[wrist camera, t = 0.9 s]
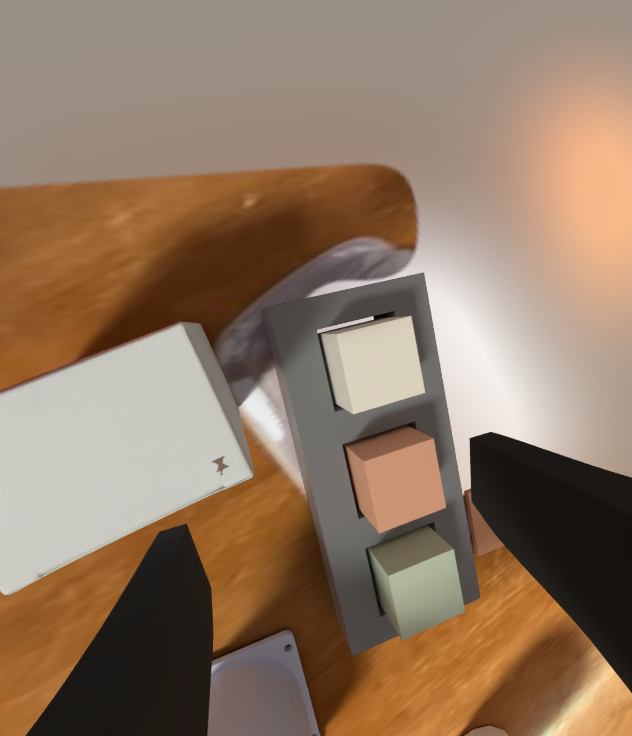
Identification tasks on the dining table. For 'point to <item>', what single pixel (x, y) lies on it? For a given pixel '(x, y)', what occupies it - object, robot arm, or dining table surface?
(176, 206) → the dining table surface
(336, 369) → the key cream
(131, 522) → the small box
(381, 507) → the key terracotta
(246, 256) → the dining table surface
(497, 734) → the white cup
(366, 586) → the keypad
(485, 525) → the tile
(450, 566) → the key sage
